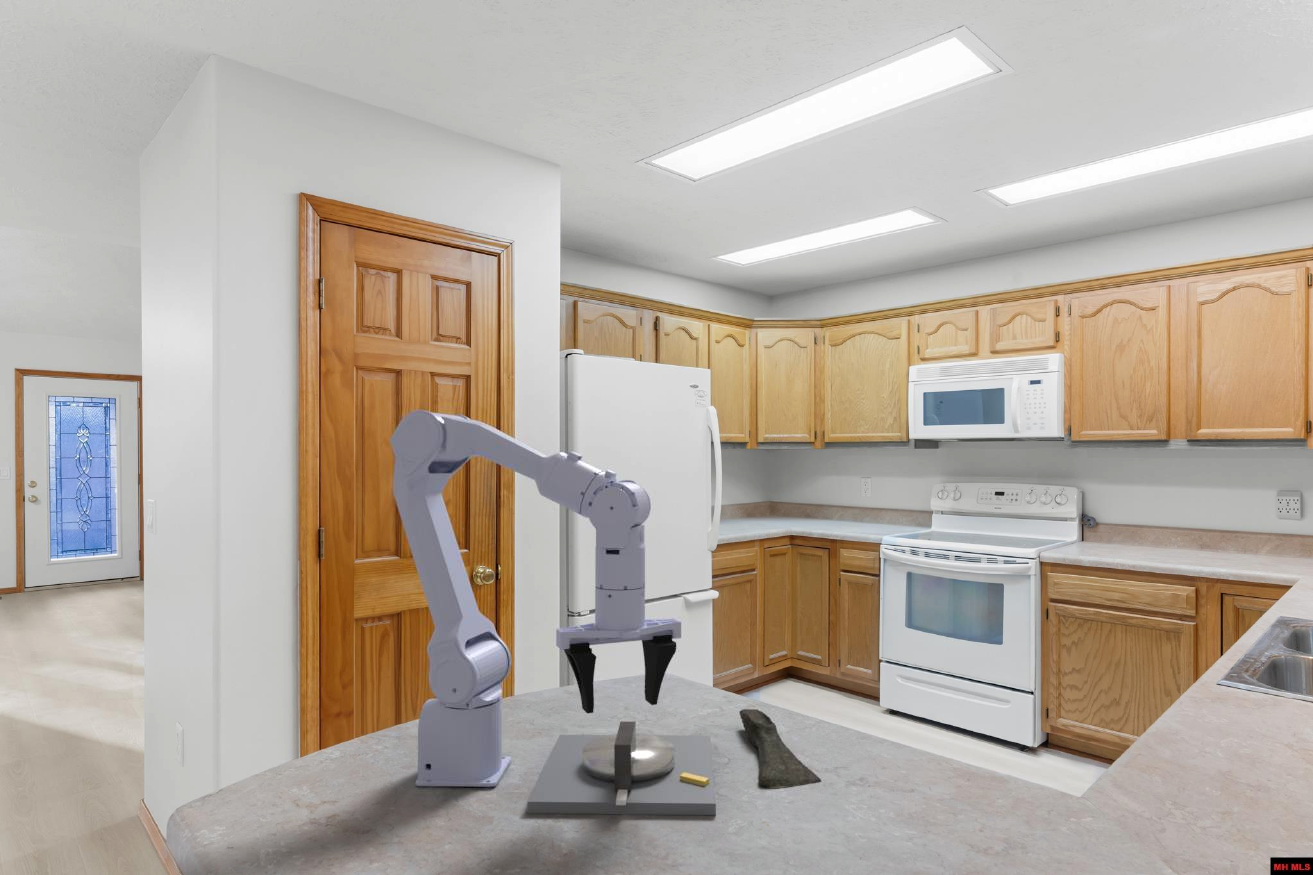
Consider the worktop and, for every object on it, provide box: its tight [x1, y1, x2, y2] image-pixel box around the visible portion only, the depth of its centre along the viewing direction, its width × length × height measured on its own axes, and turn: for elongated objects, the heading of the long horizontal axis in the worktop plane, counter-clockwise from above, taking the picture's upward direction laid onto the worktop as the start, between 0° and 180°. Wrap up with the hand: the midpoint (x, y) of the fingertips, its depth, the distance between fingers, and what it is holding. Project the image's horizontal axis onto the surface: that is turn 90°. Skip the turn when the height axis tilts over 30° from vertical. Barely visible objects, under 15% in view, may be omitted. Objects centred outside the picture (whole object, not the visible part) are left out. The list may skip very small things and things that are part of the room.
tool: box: [738, 708, 822, 790], centre depth 96 cm, size 21×8×3 cm, turn 9°
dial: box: [582, 720, 675, 792], centre depth 88 cm, size 14×11×5 cm
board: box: [527, 734, 717, 816], centre depth 89 cm, size 20×21×2 cm
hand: (620, 706), depth 85 cm, fingers open, 7 cm apart
